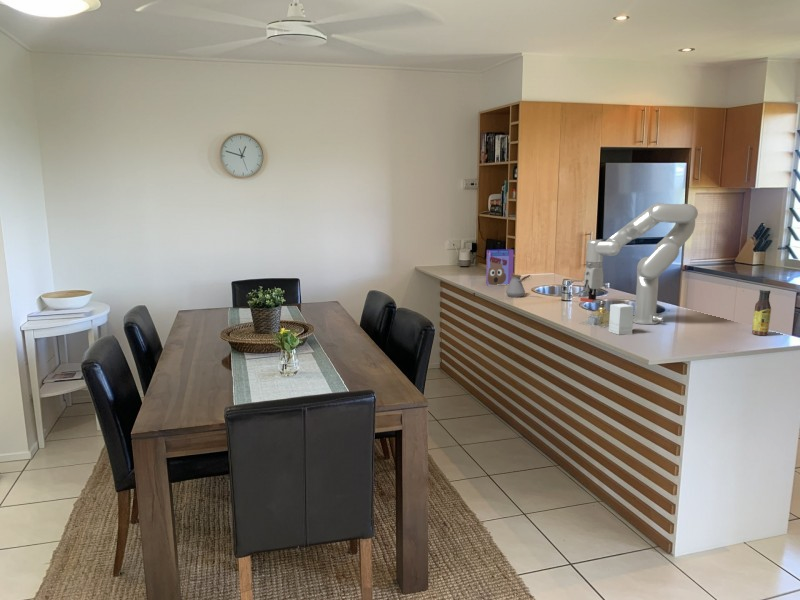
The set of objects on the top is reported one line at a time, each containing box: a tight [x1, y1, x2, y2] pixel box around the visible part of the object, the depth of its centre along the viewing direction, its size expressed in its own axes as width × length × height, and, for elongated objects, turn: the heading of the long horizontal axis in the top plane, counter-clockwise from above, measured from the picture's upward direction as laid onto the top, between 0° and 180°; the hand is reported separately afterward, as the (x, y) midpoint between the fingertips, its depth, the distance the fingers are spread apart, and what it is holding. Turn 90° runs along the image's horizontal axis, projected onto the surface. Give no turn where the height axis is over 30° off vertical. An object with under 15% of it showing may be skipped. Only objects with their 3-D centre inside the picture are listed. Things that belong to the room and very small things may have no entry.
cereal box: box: [485, 248, 515, 286], centre depth 406 cm, size 17×5×24 cm, turn 104°
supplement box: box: [608, 303, 635, 336], centre depth 268 cm, size 7×7×13 cm
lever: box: [580, 297, 607, 307], centre depth 292 cm, size 13×3×3 cm, turn 40°
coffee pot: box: [505, 274, 533, 298], centre depth 357 cm, size 21×12×15 cm, turn 21°
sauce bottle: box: [751, 289, 772, 336], centre depth 263 cm, size 7×6×20 cm
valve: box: [578, 306, 610, 329], centre depth 289 cm, size 12×19×8 cm, turn 130°
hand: (591, 302), depth 296 cm, fingers closed
